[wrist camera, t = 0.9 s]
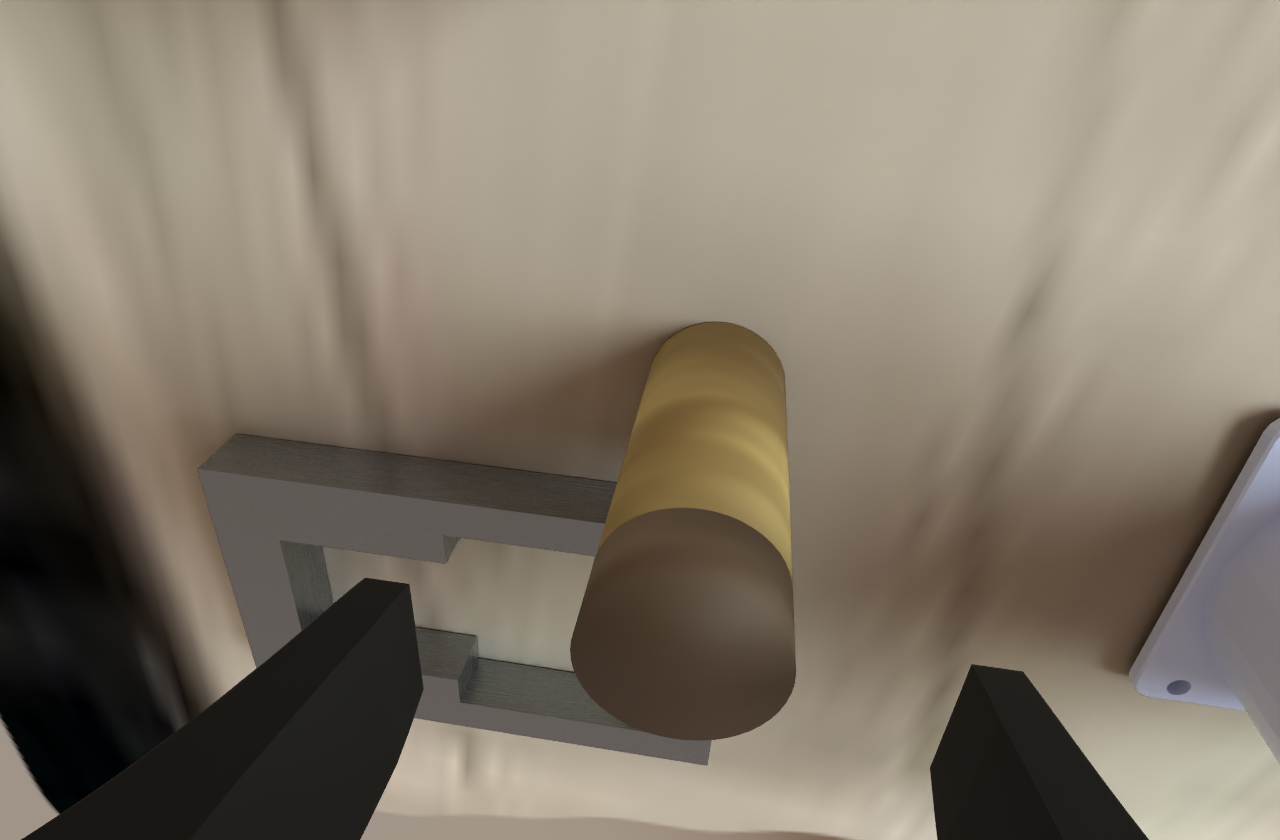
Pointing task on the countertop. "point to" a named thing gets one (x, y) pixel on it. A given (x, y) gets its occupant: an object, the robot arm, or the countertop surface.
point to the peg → (697, 548)
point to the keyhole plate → (416, 529)
